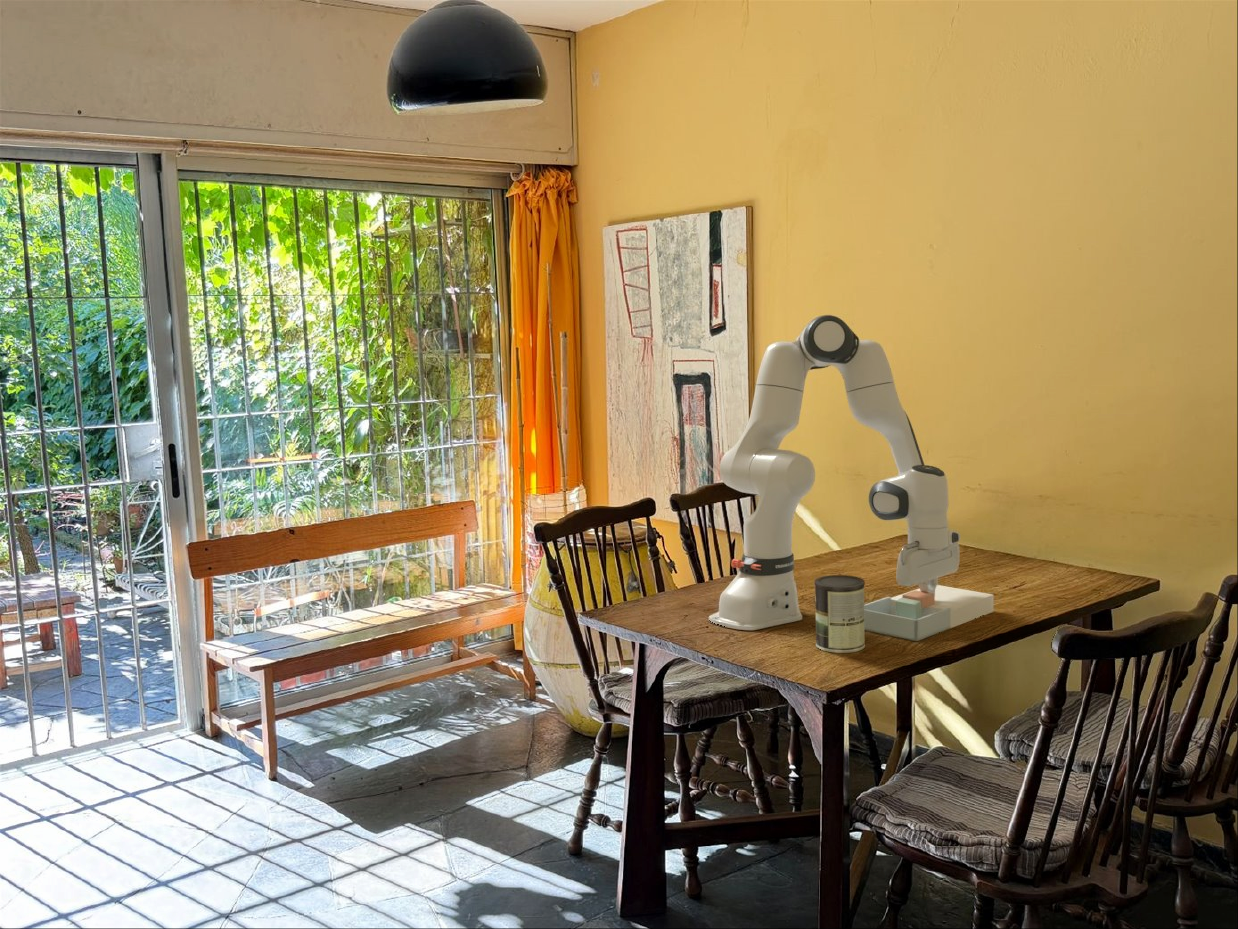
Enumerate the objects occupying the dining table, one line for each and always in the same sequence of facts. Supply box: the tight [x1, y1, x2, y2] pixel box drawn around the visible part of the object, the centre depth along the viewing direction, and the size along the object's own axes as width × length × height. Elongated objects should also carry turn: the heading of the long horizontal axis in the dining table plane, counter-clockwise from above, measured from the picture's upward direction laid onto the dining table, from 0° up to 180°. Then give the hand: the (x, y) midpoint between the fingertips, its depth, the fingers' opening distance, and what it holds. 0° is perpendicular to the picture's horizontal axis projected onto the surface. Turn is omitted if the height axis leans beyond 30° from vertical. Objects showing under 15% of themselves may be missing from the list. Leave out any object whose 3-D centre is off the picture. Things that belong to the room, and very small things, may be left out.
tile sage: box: [896, 598, 922, 620], centre depth 251 cm, size 5×5×2 cm
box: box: [864, 596, 951, 642], centre depth 249 cm, size 13×16×4 cm
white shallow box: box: [891, 584, 995, 629], centre depth 259 cm, size 18×16×4 cm
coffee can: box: [813, 574, 866, 654], centre depth 237 cm, size 10×10×14 cm
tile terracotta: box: [902, 589, 935, 609], centre depth 253 cm, size 5×5×2 cm
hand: (927, 598), depth 256 cm, fingers closed
